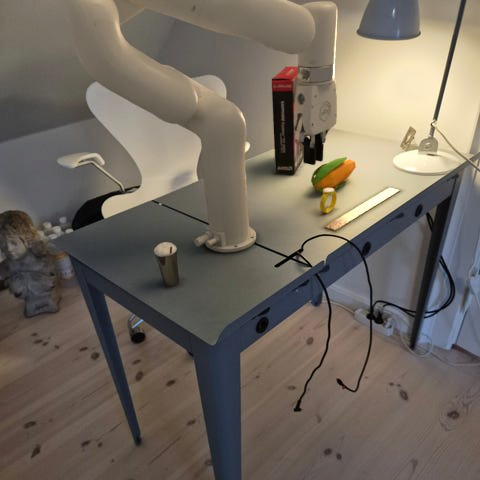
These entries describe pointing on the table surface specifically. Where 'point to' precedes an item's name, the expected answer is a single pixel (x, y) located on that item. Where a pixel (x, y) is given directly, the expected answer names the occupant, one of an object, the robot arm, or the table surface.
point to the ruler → (361, 209)
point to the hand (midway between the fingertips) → (313, 161)
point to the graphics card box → (285, 122)
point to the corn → (332, 174)
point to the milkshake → (167, 263)
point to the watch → (323, 199)
